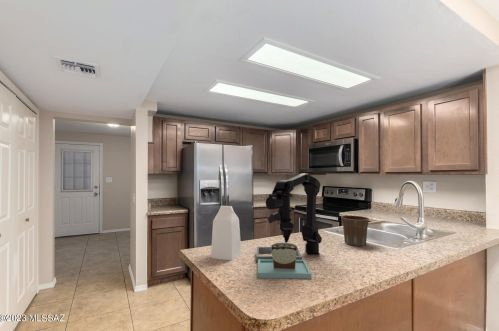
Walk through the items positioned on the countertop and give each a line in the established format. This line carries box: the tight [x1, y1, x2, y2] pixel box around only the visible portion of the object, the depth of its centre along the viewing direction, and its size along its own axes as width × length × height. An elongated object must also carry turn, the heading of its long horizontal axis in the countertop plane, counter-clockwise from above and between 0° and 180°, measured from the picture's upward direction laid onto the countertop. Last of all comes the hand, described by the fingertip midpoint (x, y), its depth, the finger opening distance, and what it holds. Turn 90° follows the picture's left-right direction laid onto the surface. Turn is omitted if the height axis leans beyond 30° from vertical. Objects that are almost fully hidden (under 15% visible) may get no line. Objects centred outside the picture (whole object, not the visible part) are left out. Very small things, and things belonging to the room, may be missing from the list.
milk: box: [210, 205, 242, 261], centre depth 134 cm, size 12×12×26 cm
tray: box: [256, 259, 312, 280], centre depth 113 cm, size 22×17×2 cm
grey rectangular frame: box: [255, 246, 303, 264], centre depth 131 cm, size 22×17×3 cm
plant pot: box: [340, 214, 370, 247], centre depth 156 cm, size 16×16×16 cm
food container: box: [270, 242, 299, 270], centre depth 115 cm, size 12×6×10 cm, turn 85°
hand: (285, 239), depth 121 cm, fingers open, 9 cm apart
